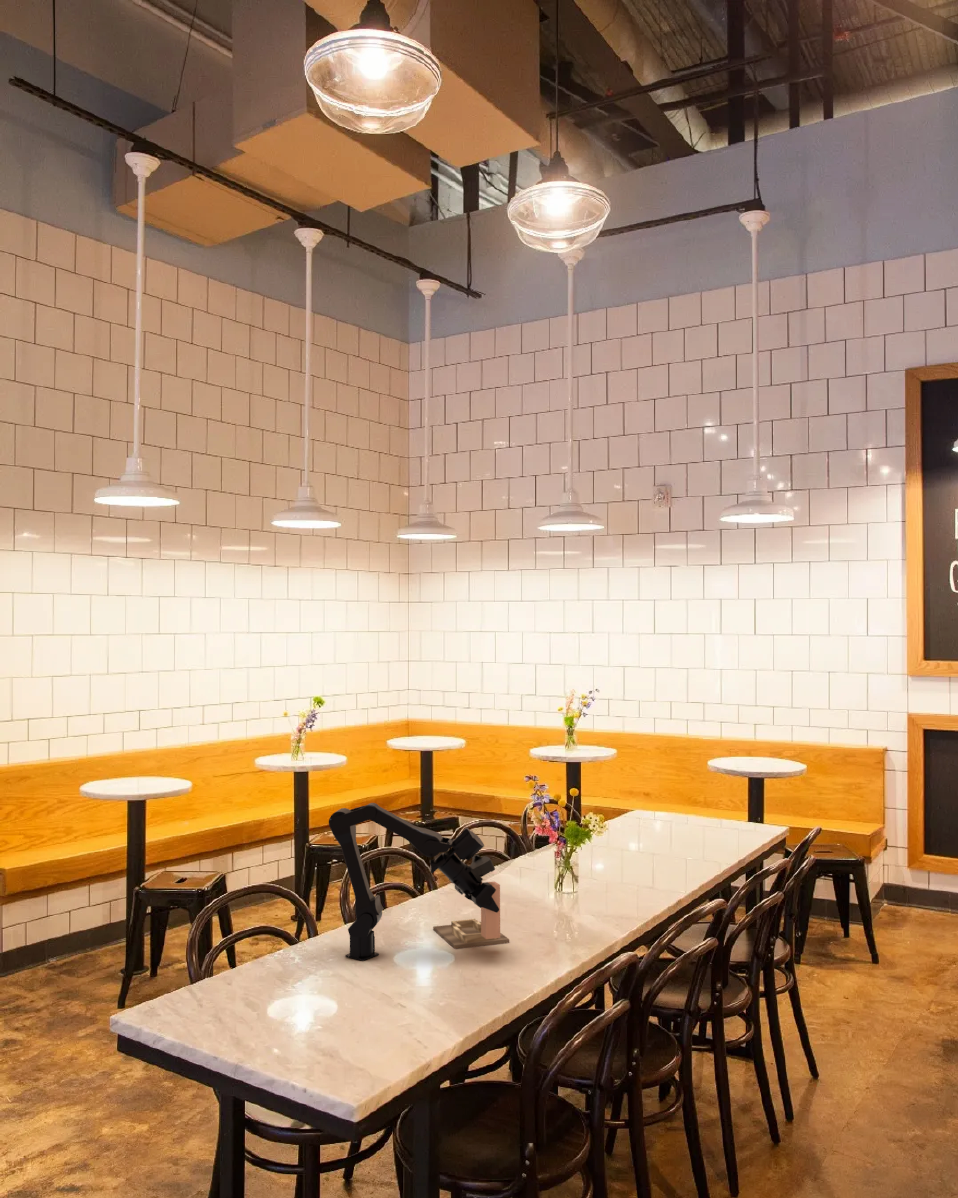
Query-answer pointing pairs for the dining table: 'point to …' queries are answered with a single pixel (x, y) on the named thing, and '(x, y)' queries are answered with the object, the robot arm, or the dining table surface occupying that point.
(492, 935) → the terracotta post
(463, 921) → the square socket board
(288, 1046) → the dining table surface
